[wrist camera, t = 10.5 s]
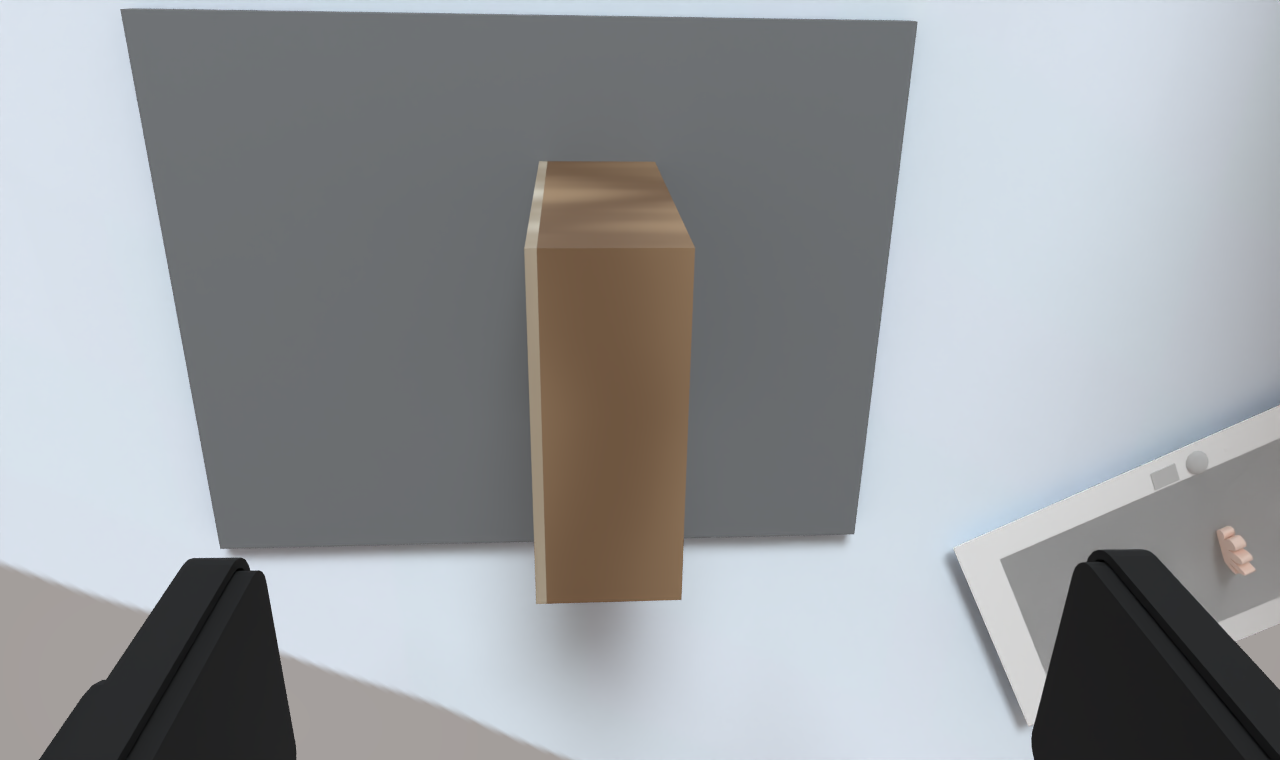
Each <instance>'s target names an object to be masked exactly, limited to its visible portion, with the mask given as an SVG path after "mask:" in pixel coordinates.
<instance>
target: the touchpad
mask: <svg viewBox="0 0 1280 760" xmlns="http://www.w3.org/2000/svg"><path fill="white" fill-rule="evenodd" d="M953 549H954V552H955V554H956V556H957V559H958V561H959V563H960V566H961V568H962V571H963V573H964V575H965V578H966V580H967V582H968V585H969V587H970V589H971V592H972V594H973V597H974V599H975V601H976V604H977V606H978V608H979V611H980V613H981V615H982V618H983V620H984V623H985V625H986V627H987V630H988V632H989V634H990V637H991V639H992V641H993V644H994V646H995V649H996V651H997V653H998V656H999V658H1000V660H1001V663H1002V665H1003V668H1004V670H1005V672H1006V675H1007V677H1008V679H1009V682H1010V684H1011V686H1012V689H1013V691H1014V694H1015V696H1016V698H1017V701H1018V703H1019V705H1020V708H1021V710H1022V712H1023V715H1024V717H1025V720H1026V722H1027V724H1028V726H1031V725H1033V724H1034V723H1035V719H1036V715H1037V711H1038V707H1039V704H1040V700H1041V696H1042V692H1043V688H1044V684H1045V680H1046V676H1047V672H1048V668H1049V664H1050V660H1051V656H1052V653H1053V649H1054V645H1055V641H1056V637H1057V633H1058V629H1059V625H1060V621H1061V617H1062V613H1063V609H1064V605H1065V602H1066V598H1067V594H1068V590H1069V586H1070V582H1071V578H1072V574H1073V571H1074V569H1075V567H1076V566H1077V565H1078V564H1079V563H1082V562H1087V559H1088V557H1089V556H1090V555H1091V553H1092V552H1093V551H1096V550H1106V549H1144V550H1148V551H1150V552H1152V553H1153V554H1154V555H1155V556H1157V558H1158V559H1159V560H1160V561H1161V562H1162V563H1163V564H1164V565H1165V566H1166V567H1167V568H1168V569H1169V571H1170V572H1171V573H1172V574H1173V575H1174V576H1175V577H1176V578H1177V579H1178V580H1179V581H1180V582H1181V584H1182V585H1183V586H1184V587H1185V588H1186V589H1187V590H1188V591H1189V592H1190V593H1191V594H1192V595H1193V597H1194V598H1195V599H1196V600H1197V601H1198V602H1199V603H1200V604H1201V605H1202V606H1203V607H1204V608H1205V610H1206V611H1207V612H1208V613H1209V614H1210V615H1211V616H1212V617H1213V618H1214V619H1215V620H1216V621H1217V623H1218V624H1219V625H1220V626H1221V627H1222V628H1223V629H1224V630H1225V631H1226V632H1227V633H1228V635H1229V636H1230V637H1231V638H1232V639H1233V640H1234V641H1235V642H1236V641H1239V640H1241V639H1244V638H1246V637H1248V636H1251V635H1253V634H1256V633H1258V632H1261V631H1263V630H1266V629H1268V628H1271V627H1273V626H1275V625H1278V624H1280V405H1278V406H1276V407H1274V408H1271V409H1269V410H1267V411H1265V412H1262V413H1260V414H1258V415H1255V416H1253V417H1251V418H1249V419H1246V420H1244V421H1242V422H1239V423H1237V424H1235V425H1233V426H1230V427H1228V428H1226V429H1223V430H1221V431H1219V432H1217V433H1214V434H1212V435H1210V436H1207V437H1205V438H1203V439H1201V440H1198V441H1196V442H1194V443H1191V444H1189V445H1187V446H1184V447H1182V448H1180V449H1178V450H1175V451H1173V452H1171V453H1168V454H1166V455H1164V456H1162V457H1159V458H1157V459H1155V460H1152V461H1150V462H1148V463H1146V464H1143V465H1141V466H1139V467H1136V468H1134V469H1132V470H1130V471H1127V472H1125V473H1123V474H1120V475H1118V476H1116V477H1114V478H1111V479H1109V480H1107V481H1104V482H1102V483H1100V484H1098V485H1095V486H1093V487H1091V488H1088V489H1086V490H1084V491H1082V492H1079V493H1077V494H1075V495H1072V496H1070V497H1068V498H1066V499H1063V500H1061V501H1059V502H1056V503H1054V504H1052V505H1050V506H1047V507H1045V508H1043V509H1040V510H1038V511H1036V512H1034V513H1031V514H1029V515H1027V516H1024V517H1022V518H1020V519H1018V520H1015V521H1013V522H1011V523H1008V524H1006V525H1004V526H1002V527H999V528H997V529H995V530H992V531H990V532H988V533H986V534H983V535H981V536H979V537H976V538H974V539H972V540H969V541H967V542H965V543H963V544H960V545H958V546H956V547H953Z"/></svg>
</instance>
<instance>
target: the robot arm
mask: <svg viewBox="0 0 1280 760" xmlns="http://www.w3.org/2000/svg"><path fill="white" fill-rule="evenodd" d="M1031 740H1032V752H1033V756H1034V760H1280V690H1279V689H1278V688H1277V687H1276V686H1275V684H1274V683H1273V682H1272V681H1271V680H1270V679H1269V678H1268V677H1267V676H1266V675H1265V674H1264V672H1262V670H1261V669H1260V668H1259V667H1258V666H1257V665H1256V664H1255V663H1254V662H1253V661H1252V659H1251V658H1250V657H1249V656H1248V655H1247V654H1246V653H1245V652H1244V651H1243V650H1242V649H1241V648H1240V646H1239V645H1237V643H1236V642H1235V641H1234V640H1233V639H1232V638H1231V637H1230V636H1229V635H1228V633H1227V632H1226V631H1225V630H1224V629H1223V628H1222V627H1221V626H1220V625H1219V624H1218V623H1217V621H1216V620H1215V619H1214V618H1213V617H1212V616H1211V615H1210V614H1209V613H1208V612H1207V611H1206V610H1205V608H1204V607H1203V606H1202V605H1201V604H1200V603H1199V602H1198V601H1197V600H1196V599H1195V598H1194V597H1193V595H1192V594H1191V593H1190V592H1189V591H1188V590H1187V589H1186V588H1185V587H1184V586H1183V585H1182V584H1181V582H1180V581H1179V580H1178V579H1177V578H1176V577H1175V576H1174V575H1173V574H1172V573H1171V572H1170V571H1169V569H1168V568H1167V567H1166V566H1165V565H1164V564H1163V563H1162V562H1161V561H1160V560H1159V559H1158V558H1157V556H1155V555H1154V554H1153V553H1152V552H1150V551H1148V550H1144V549H1106V550H1096V551H1093V552H1092V553H1091V555H1090V556H1089V557H1088V559H1087V562H1082V563H1079V564H1078V565H1077V566H1076V567H1075V569H1074V571H1073V574H1072V578H1071V582H1070V586H1069V590H1068V594H1067V598H1066V602H1065V605H1064V609H1063V613H1062V617H1061V621H1060V625H1059V629H1058V633H1057V637H1056V641H1055V645H1054V649H1053V653H1052V656H1051V660H1050V664H1049V668H1048V672H1047V676H1046V680H1045V684H1044V688H1043V692H1042V696H1041V700H1040V704H1039V707H1038V711H1037V715H1036V719H1035V723H1034V727H1033V731H1032V738H1031ZM39 760H296V745H295V739H294V733H293V728H292V722H291V717H290V712H289V706H288V700H287V694H286V689H285V684H284V678H283V672H282V666H281V661H280V655H279V650H278V644H277V639H276V633H275V627H274V622H273V616H272V611H271V605H270V600H269V594H268V588H267V583H266V579H265V576H264V574H263V572H261V571H250V568H249V565H248V563H247V562H246V560H245V559H243V558H192V559H189V560H187V561H186V562H185V564H184V565H183V566H182V567H181V569H180V570H179V572H178V573H177V575H176V576H175V578H174V579H173V581H172V582H171V584H170V585H169V587H168V588H167V590H166V591H165V593H164V594H163V596H162V597H161V599H160V600H159V602H158V603H157V605H156V606H155V608H154V609H153V611H152V612H151V614H150V615H149V617H148V618H147V619H146V621H145V623H144V624H143V626H142V627H141V629H140V630H139V631H138V633H137V634H136V636H135V637H134V639H133V640H132V642H131V643H130V645H129V646H128V648H127V649H126V651H125V653H124V654H123V655H122V657H121V658H120V660H119V661H118V663H117V664H116V666H115V667H114V669H113V670H112V672H111V673H110V675H109V676H108V678H107V679H106V680H102V681H100V682H98V683H96V684H94V685H92V686H91V687H90V689H89V690H88V691H87V692H86V693H85V694H84V696H82V698H81V699H80V701H79V703H78V704H77V705H76V707H75V708H74V710H73V711H72V712H71V714H70V715H69V717H68V718H67V720H66V721H65V723H64V724H63V726H62V727H61V729H60V730H59V732H58V733H57V734H56V736H55V737H54V739H53V740H52V742H51V743H50V745H49V746H48V747H47V749H46V750H45V752H44V754H43V755H42V756H41V758H40V759H39Z"/></svg>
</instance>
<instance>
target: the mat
mask: <svg viewBox="0 0 1280 760" xmlns="http://www.w3.org/2000/svg"><path fill="white" fill-rule="evenodd" d="M120 10H121V15H122V20H123V26H124V31H125V37H126V42H127V47H128V53H129V58H130V64H131V69H132V74H133V80H134V85H135V91H136V96H137V101H138V107H139V112H140V118H141V123H142V128H143V134H144V139H145V145H146V150H147V155H148V161H149V166H150V172H151V177H152V182H153V188H154V193H155V199H156V204H157V209H158V215H159V220H160V226H161V231H162V236H163V242H164V247H165V252H166V258H167V263H168V269H169V274H170V279H171V285H172V290H173V296H174V301H175V306H176V312H177V317H178V323H179V328H180V333H181V339H182V344H183V350H184V355H185V360H186V366H187V371H188V377H189V382H190V387H191V393H192V398H193V404H194V409H195V414H196V420H197V425H198V431H199V436H200V441H201V447H202V452H203V458H204V463H205V468H206V474H207V479H208V485H209V490H210V495H211V501H212V506H213V512H214V517H215V522H216V528H217V533H218V539H219V544H220V549H230V548H274V547H317V546H361V545H405V544H448V543H492V542H534V523H533V493H532V463H531V434H530V404H529V374H528V345H527V315H526V285H525V255H524V247H525V241H526V235H527V229H528V224H529V218H530V212H531V206H532V200H533V194H534V188H535V182H536V177H537V171H538V165H539V161H617V162H655V163H656V165H657V167H658V169H659V171H660V174H661V176H662V178H663V180H664V182H665V184H666V187H667V189H668V191H669V193H670V195H671V197H672V199H673V202H674V204H675V206H676V208H677V210H678V212H679V214H680V217H681V219H682V221H683V223H684V225H685V227H686V229H687V232H688V234H689V236H690V238H691V240H692V242H693V244H694V247H695V263H694V288H693V314H692V339H691V365H690V390H689V416H688V441H687V467H686V492H685V518H684V538H710V537H753V536H797V535H840V534H854V531H855V523H856V515H857V507H858V499H859V491H860V483H861V475H862V467H863V459H864V450H865V442H866V434H867V426H868V418H869V410H870V402H871V394H872V386H873V378H874V370H875V362H876V353H877V345H878V337H879V329H880V321H881V313H882V305H883V297H884V289H885V281H886V273H887V265H888V256H889V248H890V240H891V232H892V224H893V216H894V208H895V200H896V192H897V184H898V176H899V168H900V159H901V151H902V143H903V135H904V127H905V119H906V111H907V103H908V95H909V87H910V79H911V71H912V62H913V54H914V46H915V38H916V30H917V22H916V21H896V20H833V19H769V18H705V17H642V16H578V15H515V14H451V13H387V12H324V11H260V10H197V9H133V8H132V9H120Z"/></svg>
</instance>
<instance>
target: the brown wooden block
mask: <svg viewBox="0 0 1280 760" xmlns="http://www.w3.org/2000/svg"><path fill="white" fill-rule="evenodd" d="M524 255H525V285H526V315H527V345H528V374H529V404H530V434H531V463H532V493H533V523H534V553H535V582H536V604H552V603H587V602H621V601H656V600H681V594H682V569H683V543H684V518H685V492H686V467H687V441H688V416H689V390H690V365H691V339H692V314H693V288H694V263H695V247H694V244H693V242H692V240H691V238H690V236H689V234H688V232H687V229H686V227H685V225H684V223H683V221H682V219H681V217H680V214H679V212H678V210H677V208H676V206H675V204H674V202H673V199H672V197H671V195H670V193H669V191H668V189H667V187H666V184H665V182H664V180H663V178H662V176H661V174H660V171H659V169H658V167H657V165H656V163H655V162H617V161H539V165H538V171H537V177H536V182H535V188H534V194H533V200H532V206H531V212H530V218H529V224H528V229H527V235H526V241H525V247H524Z"/></svg>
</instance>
